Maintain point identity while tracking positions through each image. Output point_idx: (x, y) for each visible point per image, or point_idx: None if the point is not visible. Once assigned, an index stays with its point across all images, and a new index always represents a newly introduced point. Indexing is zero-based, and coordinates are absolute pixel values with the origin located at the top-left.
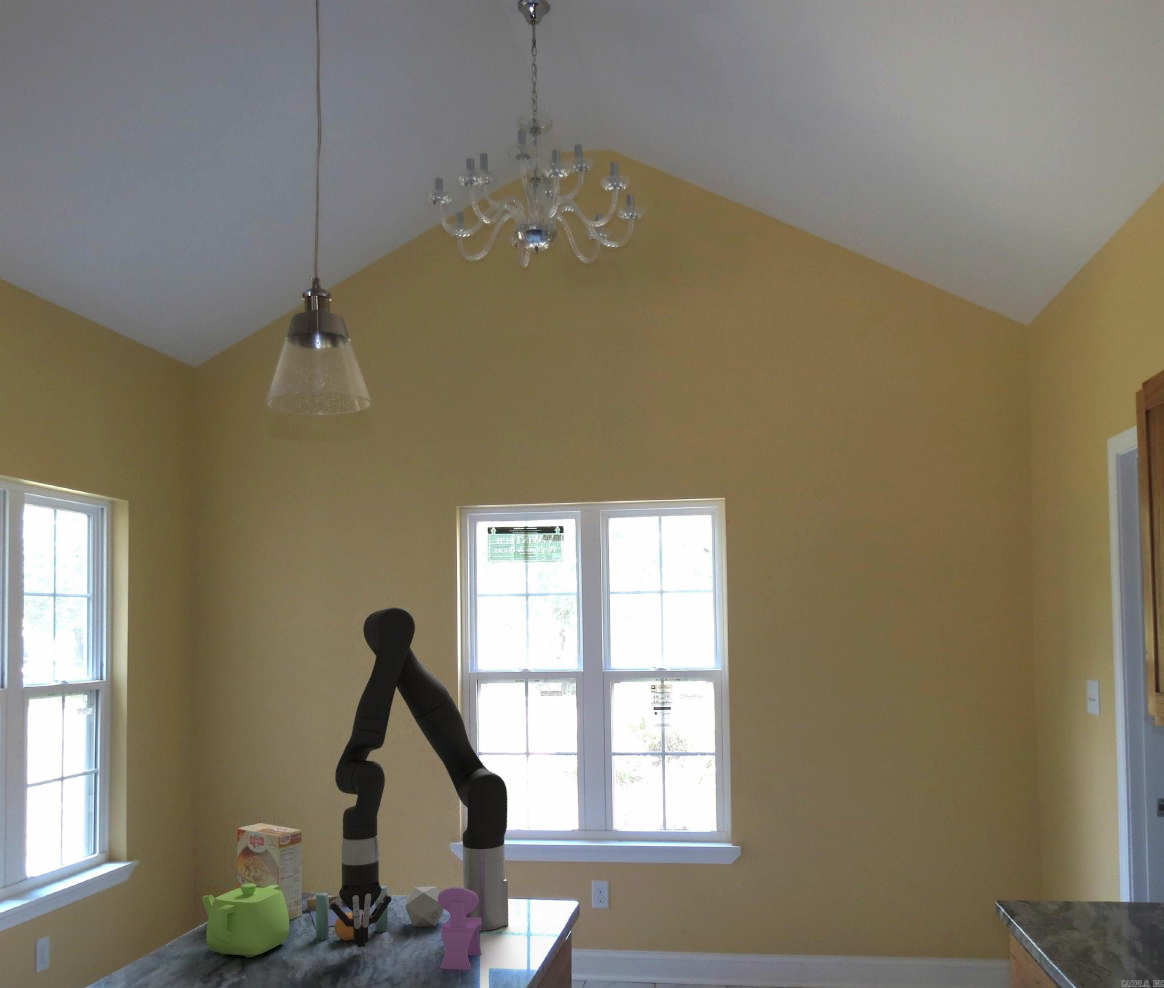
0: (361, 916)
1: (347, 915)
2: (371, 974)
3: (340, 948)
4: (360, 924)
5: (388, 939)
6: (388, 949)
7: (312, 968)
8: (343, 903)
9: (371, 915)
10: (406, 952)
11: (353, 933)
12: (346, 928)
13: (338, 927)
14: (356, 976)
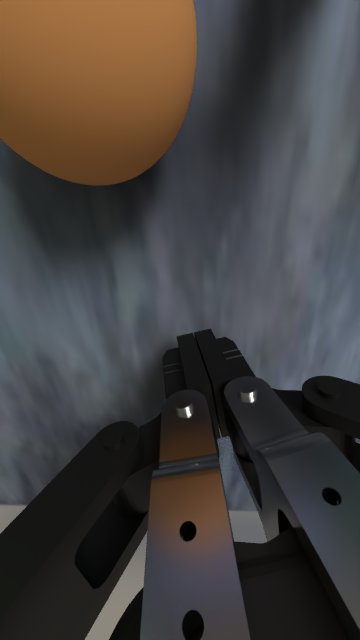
0: (242, 435)
1: (50, 49)
2: (226, 492)
3: (87, 252)
4: (194, 75)
5: (328, 159)
6: (301, 309)
7: (31, 446)
8: None
9: (328, 435)
10: (355, 352)
11: (165, 384)
12: (89, 183)
13: (10, 146)
14: None
